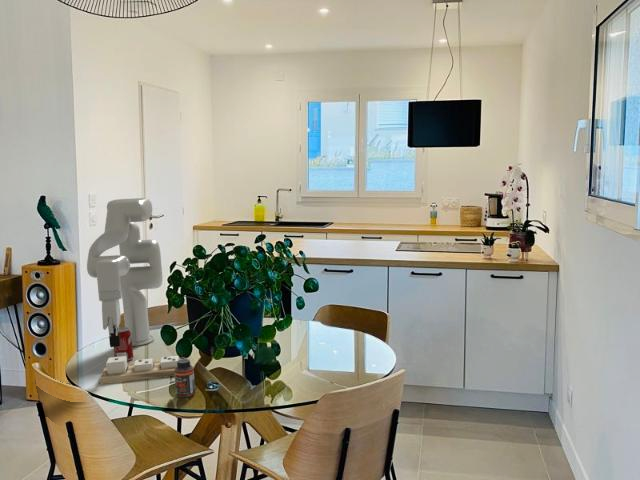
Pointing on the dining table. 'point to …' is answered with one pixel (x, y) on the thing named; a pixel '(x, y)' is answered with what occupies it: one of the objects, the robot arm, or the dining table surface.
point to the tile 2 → (143, 365)
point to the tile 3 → (169, 362)
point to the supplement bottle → (184, 379)
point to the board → (137, 373)
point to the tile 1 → (116, 365)
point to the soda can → (124, 344)
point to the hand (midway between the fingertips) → (115, 346)
